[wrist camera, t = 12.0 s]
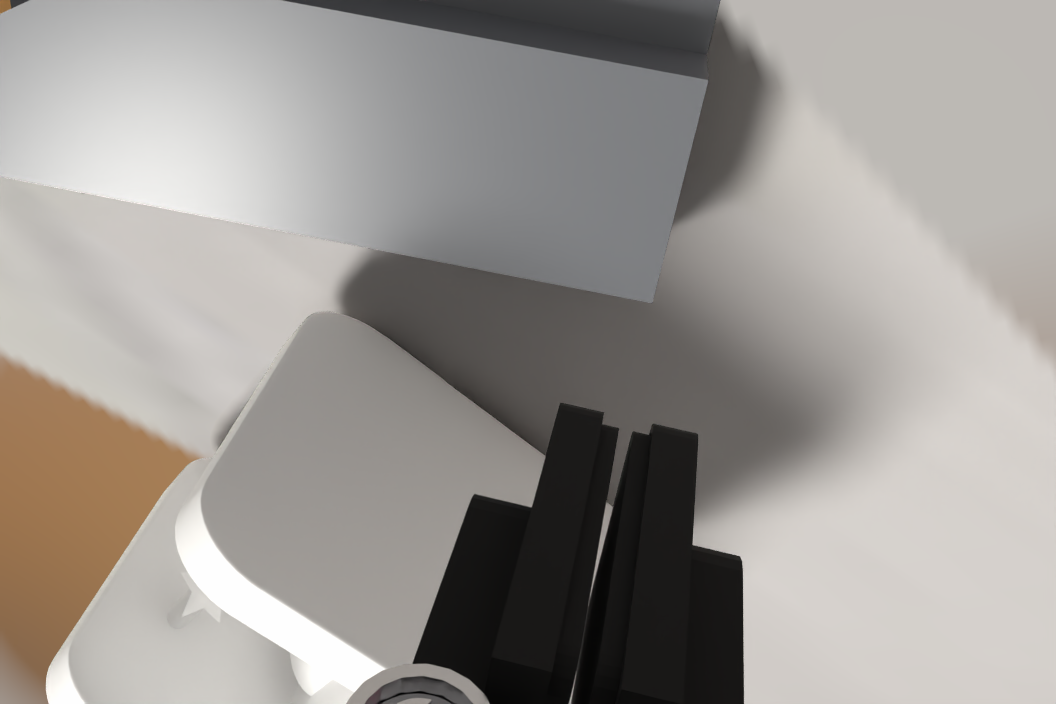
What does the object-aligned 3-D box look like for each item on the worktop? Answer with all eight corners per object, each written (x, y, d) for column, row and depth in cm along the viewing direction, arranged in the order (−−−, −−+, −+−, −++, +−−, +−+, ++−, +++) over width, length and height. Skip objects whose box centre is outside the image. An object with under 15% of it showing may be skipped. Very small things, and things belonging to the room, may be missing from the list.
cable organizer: (674, 533, 36) (670, 841, 26) (491, 665, 41) (431, 963, 31) (332, 276, 32) (178, 527, 22) (178, 458, 37) (-2, 726, 27)
